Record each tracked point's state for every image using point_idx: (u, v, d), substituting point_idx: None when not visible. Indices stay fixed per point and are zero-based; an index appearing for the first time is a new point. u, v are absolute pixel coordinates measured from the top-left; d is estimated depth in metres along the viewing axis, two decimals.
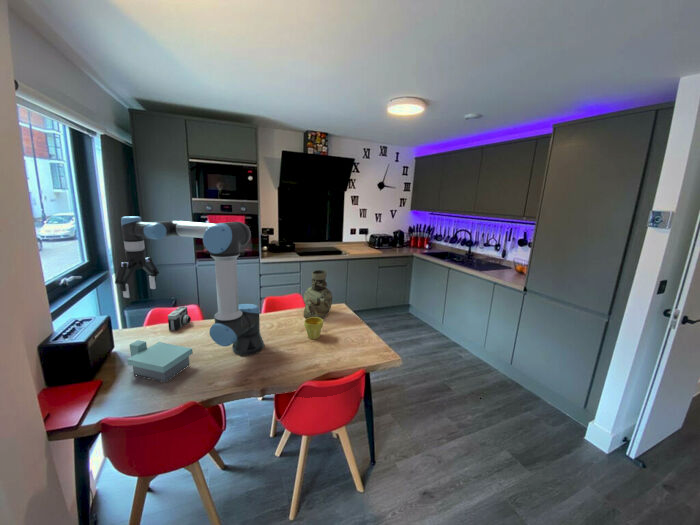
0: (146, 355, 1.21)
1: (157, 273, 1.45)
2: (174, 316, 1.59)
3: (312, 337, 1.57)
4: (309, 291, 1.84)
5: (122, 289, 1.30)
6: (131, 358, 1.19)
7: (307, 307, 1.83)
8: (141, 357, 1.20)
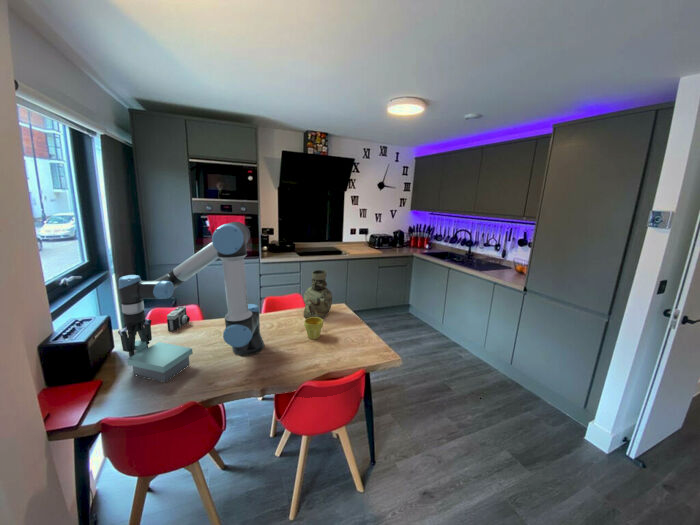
0: (146, 355, 1.21)
1: (149, 340, 1.30)
2: (173, 316, 1.58)
3: (312, 337, 1.57)
4: (309, 291, 1.84)
5: (130, 356, 1.23)
6: (131, 358, 1.19)
7: (307, 307, 1.83)
8: (141, 357, 1.20)
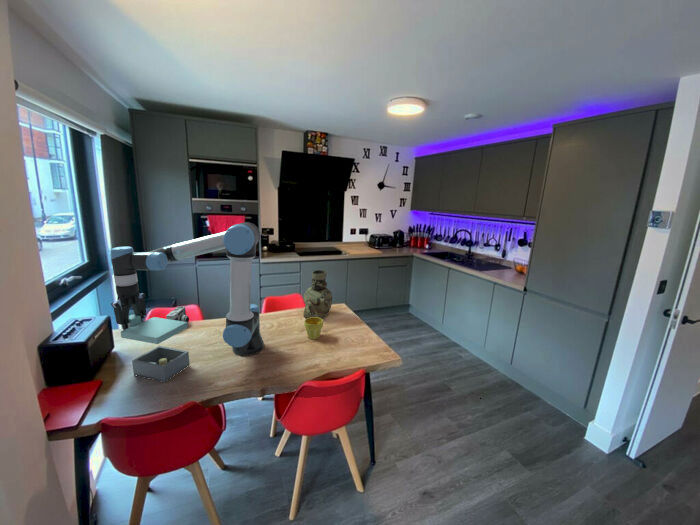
0: (140, 328, 1.19)
1: (144, 314, 1.27)
2: (172, 316, 1.58)
3: (312, 337, 1.57)
4: (309, 291, 1.84)
5: (124, 329, 1.20)
6: (125, 331, 1.16)
7: (307, 307, 1.83)
8: (135, 329, 1.18)
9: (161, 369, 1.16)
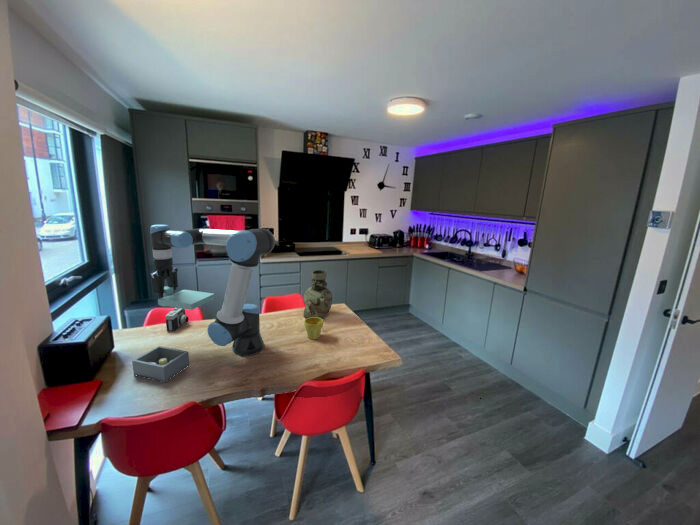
0: (174, 297, 1.34)
1: (176, 286, 1.42)
2: (172, 316, 1.58)
3: (312, 337, 1.57)
4: (309, 291, 1.84)
5: None
6: (161, 299, 1.31)
7: (307, 307, 1.83)
8: (170, 298, 1.33)
9: (161, 369, 1.16)
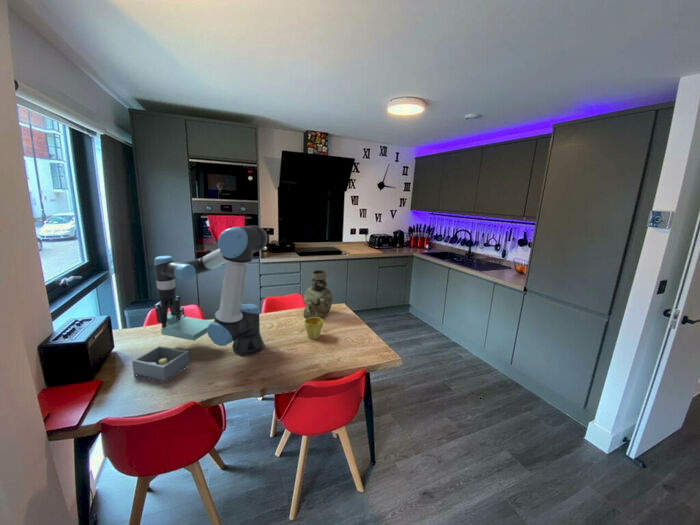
0: (177, 326, 1.38)
1: (178, 314, 1.46)
2: None
3: (312, 337, 1.57)
4: (309, 291, 1.84)
5: (163, 327, 1.39)
6: (164, 328, 1.35)
7: (307, 307, 1.83)
8: (173, 327, 1.36)
9: (161, 369, 1.16)
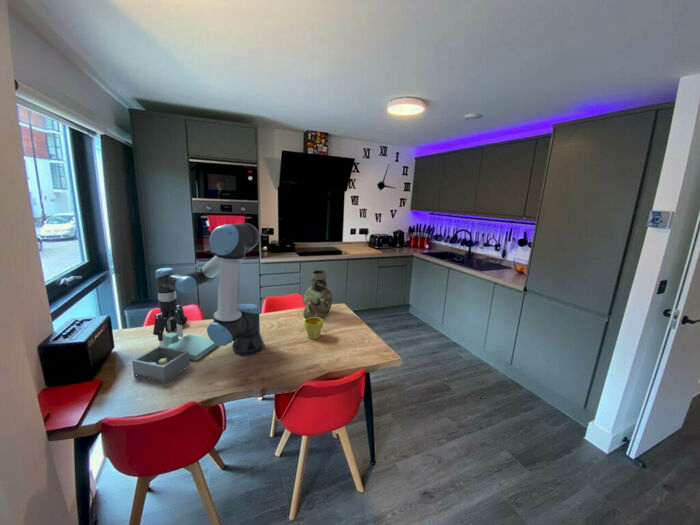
0: (179, 345, 1.40)
1: (184, 321, 1.50)
2: None
3: (312, 337, 1.57)
4: (309, 291, 1.84)
5: (159, 339, 1.37)
6: None
7: (307, 307, 1.83)
8: (175, 347, 1.38)
9: (161, 369, 1.16)
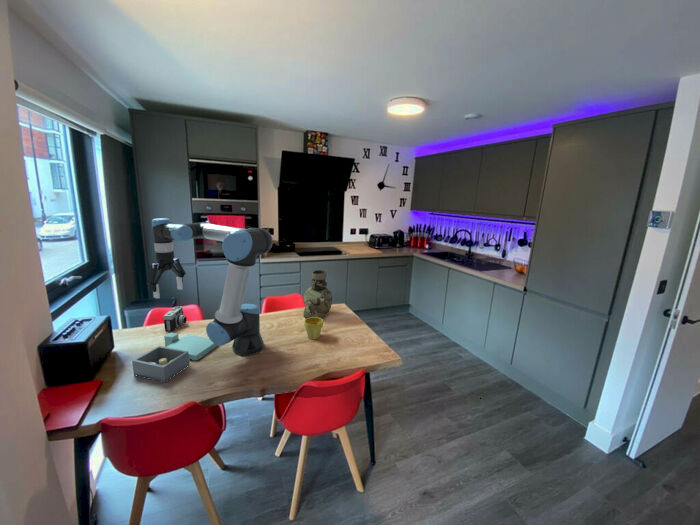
0: (179, 345, 1.40)
1: (184, 274, 1.48)
2: (170, 316, 1.58)
3: (312, 337, 1.57)
4: (309, 291, 1.84)
5: (153, 290, 1.32)
6: None
7: (307, 307, 1.83)
8: (175, 347, 1.38)
9: (161, 369, 1.16)
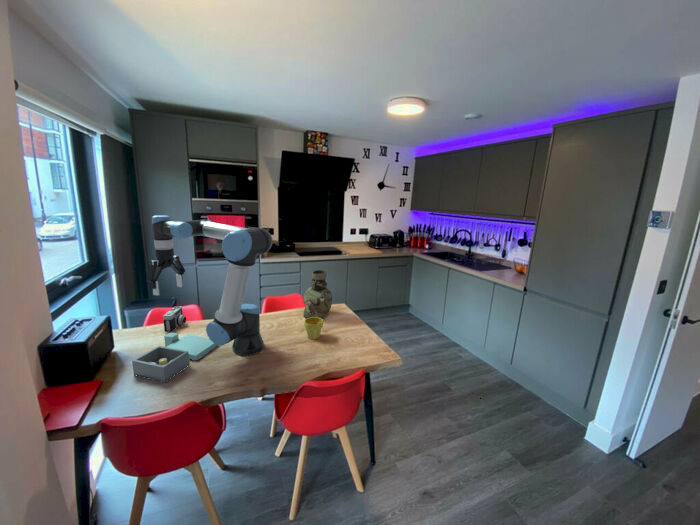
0: (179, 345, 1.40)
1: (184, 271, 1.48)
2: (170, 316, 1.58)
3: (312, 337, 1.57)
4: (309, 291, 1.84)
5: (152, 287, 1.32)
6: None
7: (307, 307, 1.83)
8: (175, 347, 1.38)
9: (161, 369, 1.16)
